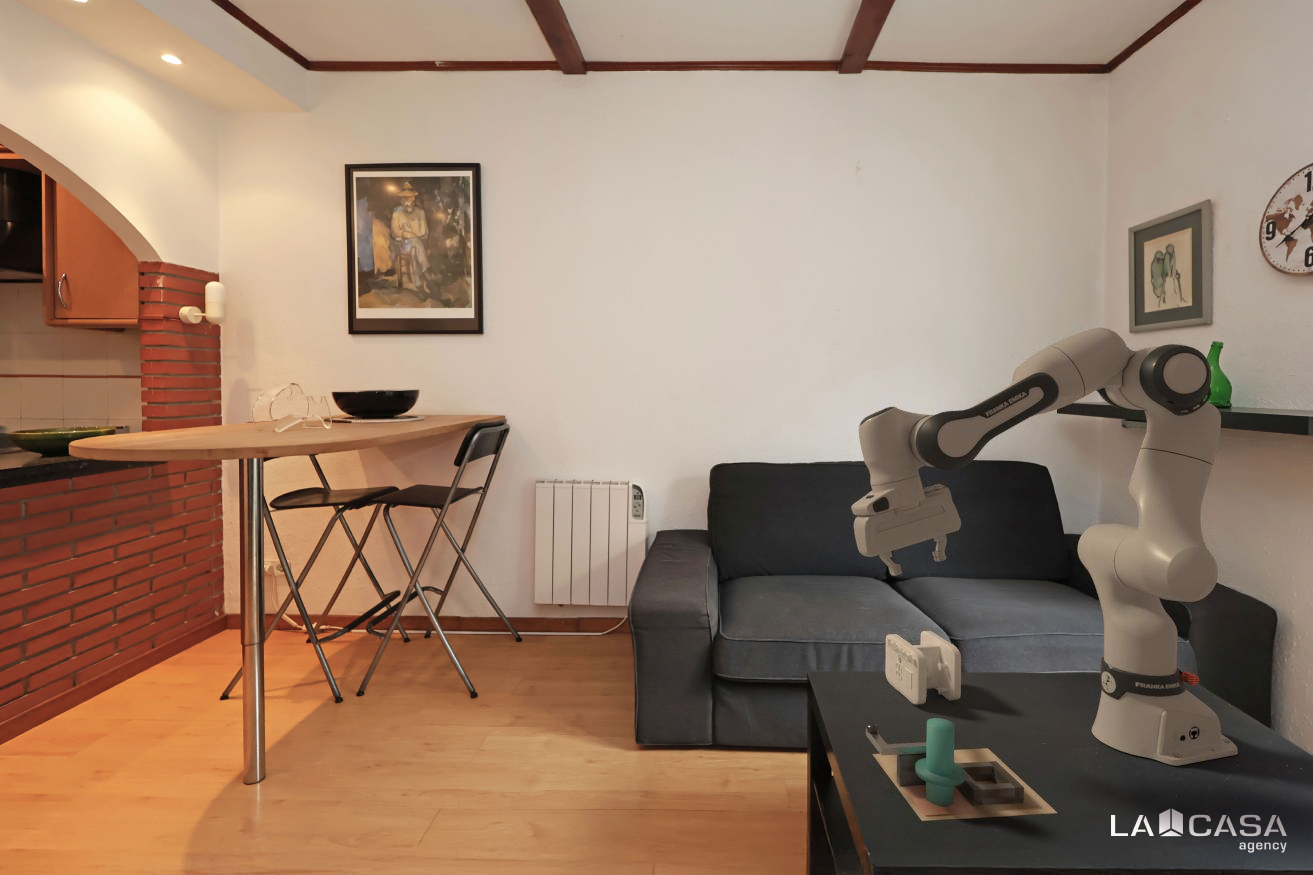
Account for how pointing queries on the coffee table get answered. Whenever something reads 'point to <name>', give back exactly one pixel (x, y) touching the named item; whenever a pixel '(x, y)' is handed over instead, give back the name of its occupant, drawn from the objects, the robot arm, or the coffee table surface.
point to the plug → (940, 763)
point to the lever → (892, 748)
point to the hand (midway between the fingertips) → (918, 567)
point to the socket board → (967, 787)
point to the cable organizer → (923, 667)
